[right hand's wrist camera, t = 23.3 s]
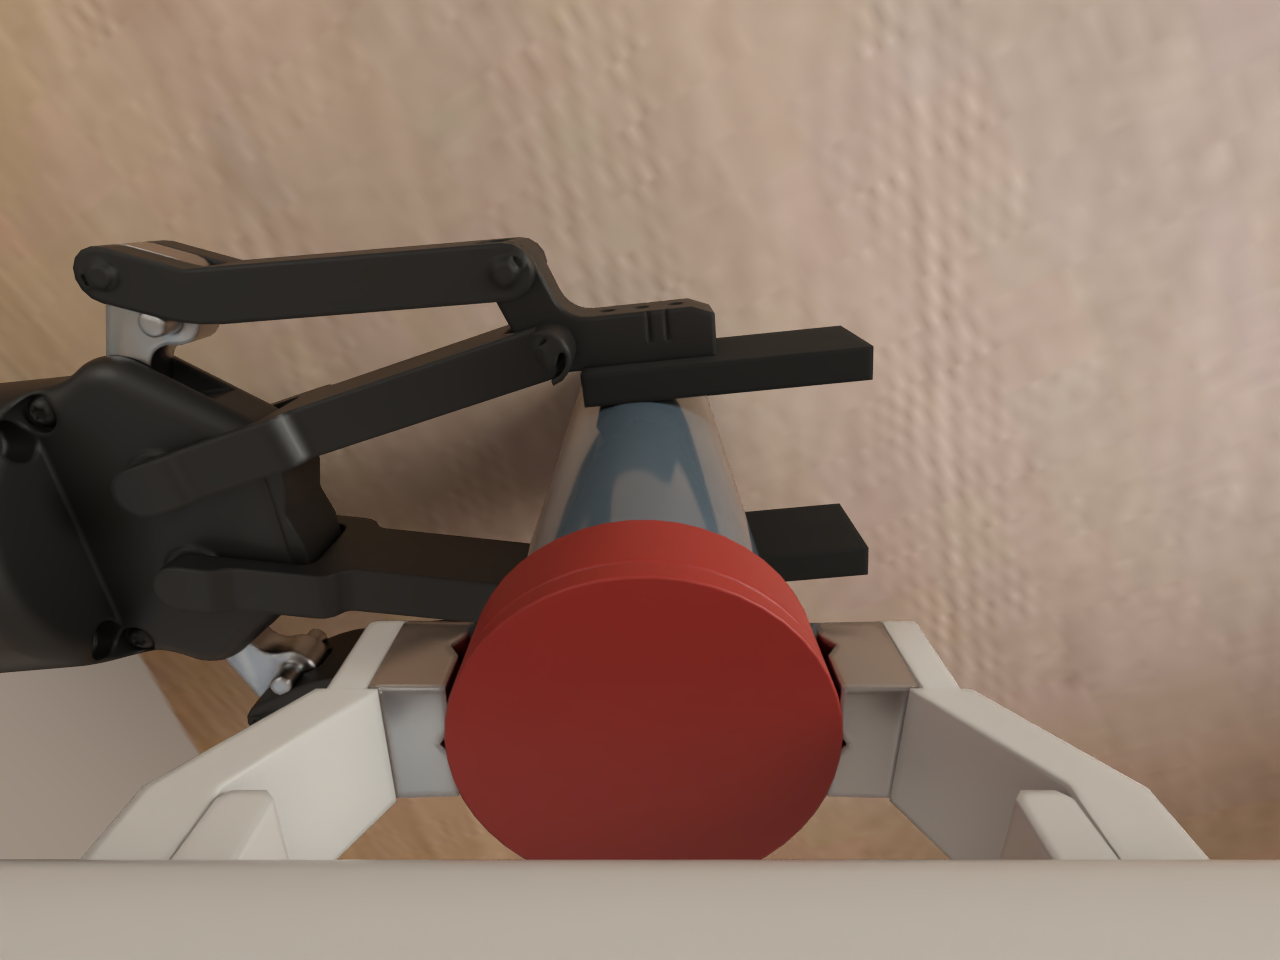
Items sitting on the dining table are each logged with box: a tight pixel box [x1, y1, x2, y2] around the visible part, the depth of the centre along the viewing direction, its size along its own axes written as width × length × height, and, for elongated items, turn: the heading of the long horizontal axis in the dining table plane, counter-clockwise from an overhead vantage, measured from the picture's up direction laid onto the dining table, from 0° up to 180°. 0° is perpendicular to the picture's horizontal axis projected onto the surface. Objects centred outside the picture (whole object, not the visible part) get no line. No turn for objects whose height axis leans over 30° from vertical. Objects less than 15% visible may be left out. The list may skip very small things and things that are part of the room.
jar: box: [526, 384, 760, 558], centre depth 16 cm, size 4×4×15 cm
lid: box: [444, 520, 843, 860], centre depth 9 cm, size 5×5×2 cm
